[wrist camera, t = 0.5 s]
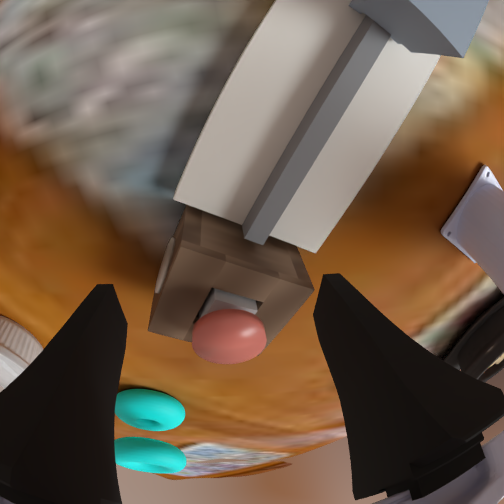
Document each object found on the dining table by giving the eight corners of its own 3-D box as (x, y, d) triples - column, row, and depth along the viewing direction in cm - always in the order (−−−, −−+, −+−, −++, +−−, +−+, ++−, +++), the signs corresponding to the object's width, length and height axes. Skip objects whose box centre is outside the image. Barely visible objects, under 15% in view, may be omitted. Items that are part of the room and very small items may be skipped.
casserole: (518, 253, 26) (552, 291, 20) (532, 284, 33) (554, 313, 27) (411, 368, 38) (430, 409, 31) (451, 370, 45) (467, 401, 38)
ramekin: (55, 335, 24) (42, 376, 20) (52, 375, 29) (44, 408, 24) (-24, 292, 19) (-43, 326, 15) (-13, 341, 24) (-25, 371, 20)
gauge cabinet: (294, 242, 20) (314, 290, 16) (250, 306, 24) (258, 356, 20) (184, 200, 18) (176, 245, 13) (154, 278, 21) (144, 330, 17)
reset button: (266, 271, 18) (280, 329, 15) (238, 311, 20) (246, 368, 16) (207, 252, 17) (207, 312, 13) (185, 297, 19) (182, 356, 15)
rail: (450, 8, 10) (479, 8, 8) (309, 241, 21) (322, 267, 18) (339, -81, 6) (358, -97, 4) (175, 189, 17) (169, 211, 15)
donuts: (201, 473, 27) (141, 474, 29) (198, 409, 35) (143, 417, 37) (153, 458, 22) (90, 456, 23) (156, 379, 30) (99, 389, 31)
